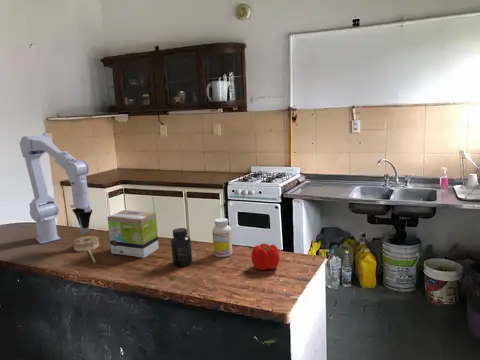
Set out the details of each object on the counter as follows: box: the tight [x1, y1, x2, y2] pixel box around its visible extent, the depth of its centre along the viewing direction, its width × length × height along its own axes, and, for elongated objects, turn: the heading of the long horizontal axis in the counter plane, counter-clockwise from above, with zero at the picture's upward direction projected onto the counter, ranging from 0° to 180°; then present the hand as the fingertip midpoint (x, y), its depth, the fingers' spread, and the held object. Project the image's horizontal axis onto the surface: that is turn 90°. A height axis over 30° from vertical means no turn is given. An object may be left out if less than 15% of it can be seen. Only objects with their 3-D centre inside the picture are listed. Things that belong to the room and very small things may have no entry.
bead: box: [72, 235, 100, 252], centre depth 161 cm, size 9×9×3 cm
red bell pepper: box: [251, 243, 281, 271], centre depth 132 cm, size 9×9×8 cm
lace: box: [87, 250, 97, 263], centre depth 150 cm, size 14×1×1 cm, turn 28°
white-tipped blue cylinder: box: [79, 218, 90, 235], centre depth 159 cm, size 3×3×7 cm
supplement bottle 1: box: [170, 227, 193, 268], centre depth 138 cm, size 7×7×12 cm
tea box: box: [107, 209, 160, 259], centre depth 152 cm, size 15×10×15 cm
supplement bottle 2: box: [212, 217, 233, 258], centre depth 145 cm, size 7×7×13 cm
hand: (84, 226), depth 159 cm, fingers closed on white-tipped blue cylinder, 3 cm apart
